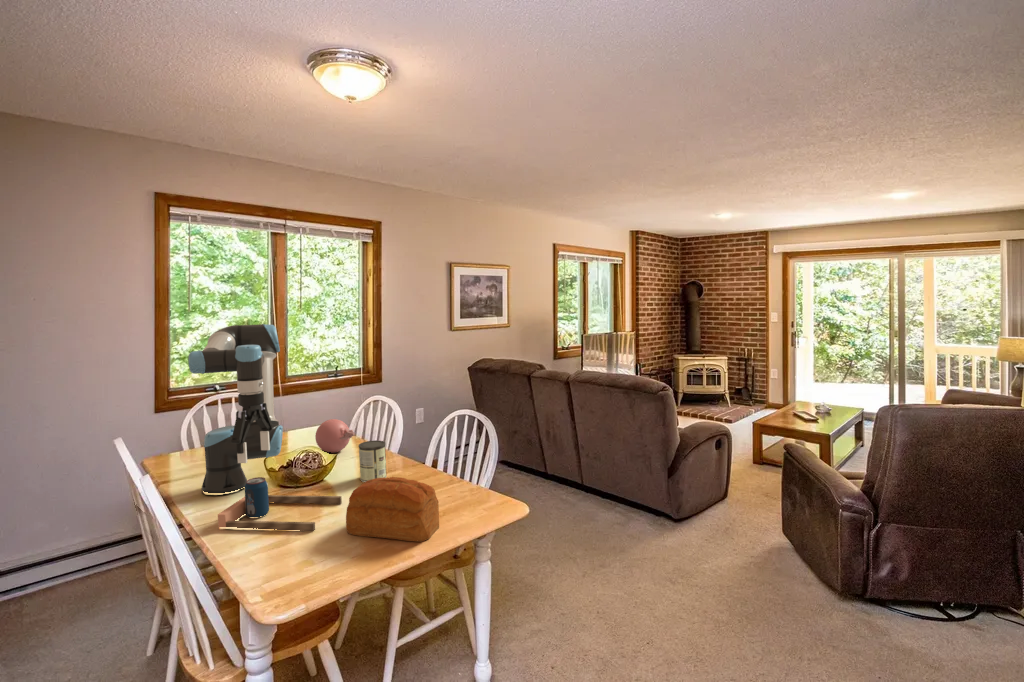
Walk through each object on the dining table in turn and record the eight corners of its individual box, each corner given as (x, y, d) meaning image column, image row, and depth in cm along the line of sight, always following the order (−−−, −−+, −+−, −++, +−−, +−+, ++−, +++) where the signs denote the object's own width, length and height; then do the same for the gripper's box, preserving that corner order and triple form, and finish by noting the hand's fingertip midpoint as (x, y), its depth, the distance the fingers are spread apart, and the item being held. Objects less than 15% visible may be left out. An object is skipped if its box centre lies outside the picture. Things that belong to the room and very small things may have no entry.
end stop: (218, 530, 164) (217, 514, 164) (257, 501, 186) (257, 488, 186) (226, 530, 164) (225, 514, 163) (264, 502, 186) (263, 488, 186)
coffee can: (365, 474, 214) (364, 440, 213) (390, 474, 213) (389, 440, 212) (355, 482, 204) (354, 447, 203) (381, 483, 203) (380, 447, 202)
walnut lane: (226, 530, 164) (225, 522, 164) (264, 502, 186) (264, 495, 186) (313, 531, 162) (313, 523, 162) (341, 503, 184) (341, 496, 184)
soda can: (269, 509, 179) (268, 475, 178) (268, 517, 173) (266, 482, 172) (247, 513, 177) (245, 478, 176) (245, 521, 170) (243, 485, 169)
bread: (423, 546, 152) (421, 493, 150) (340, 537, 158) (338, 486, 157) (443, 522, 167) (442, 474, 166) (367, 515, 174) (366, 468, 172)
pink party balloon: (341, 460, 233) (339, 426, 232) (308, 454, 242) (307, 421, 241) (365, 450, 247) (364, 418, 245) (333, 445, 256) (332, 414, 254)
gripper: (239, 400, 159) (243, 468, 160) (281, 385, 183) (284, 445, 185) (215, 400, 159) (220, 468, 161) (260, 385, 184) (263, 445, 186)
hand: (254, 456), depth 173 cm, fingers open, 13 cm apart
